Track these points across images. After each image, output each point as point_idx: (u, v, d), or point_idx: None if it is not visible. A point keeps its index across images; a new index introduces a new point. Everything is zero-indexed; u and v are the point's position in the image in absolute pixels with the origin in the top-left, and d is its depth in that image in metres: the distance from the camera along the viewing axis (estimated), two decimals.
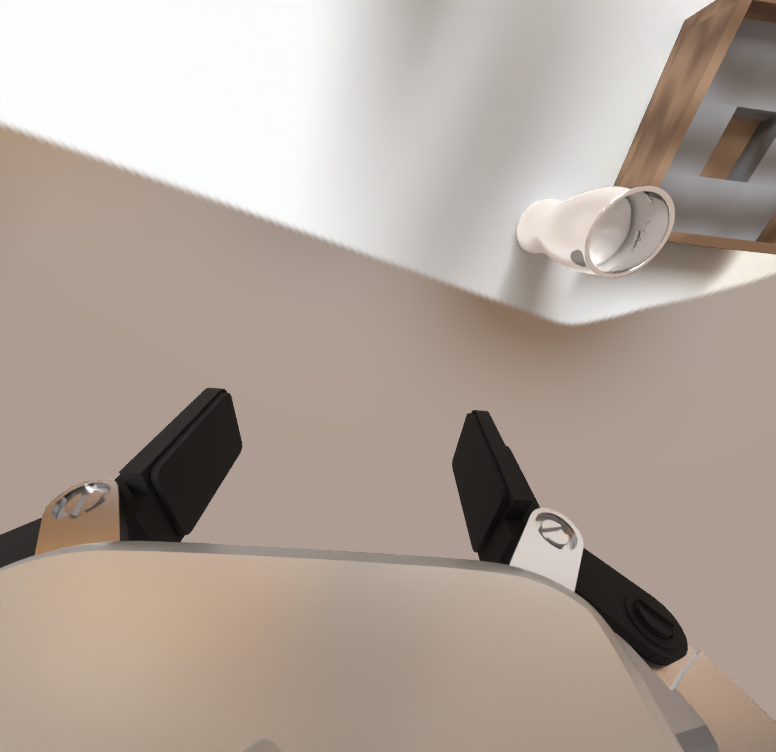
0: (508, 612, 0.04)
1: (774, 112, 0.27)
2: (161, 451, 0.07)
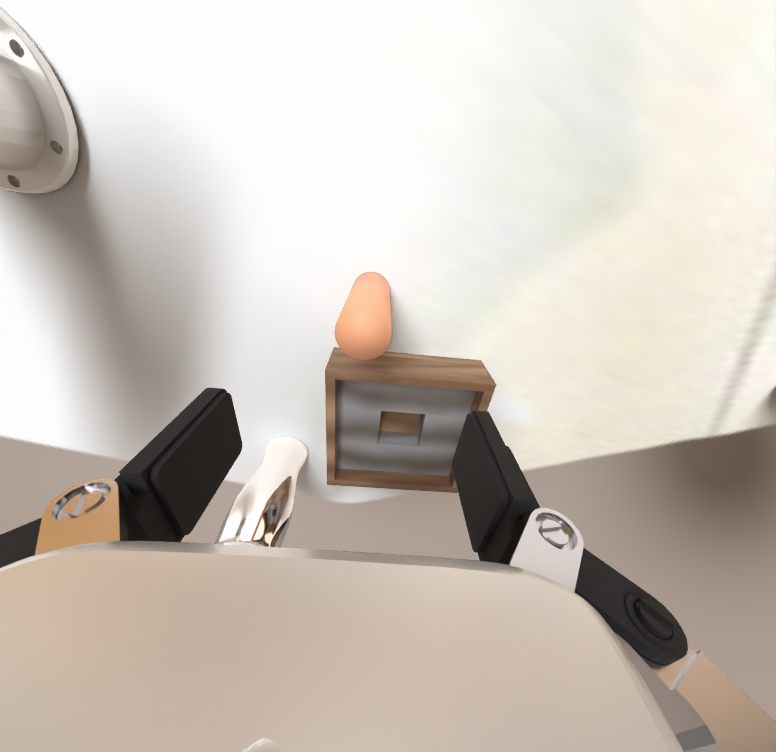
0: (508, 612, 0.04)
1: (413, 412, 0.34)
2: (161, 451, 0.07)
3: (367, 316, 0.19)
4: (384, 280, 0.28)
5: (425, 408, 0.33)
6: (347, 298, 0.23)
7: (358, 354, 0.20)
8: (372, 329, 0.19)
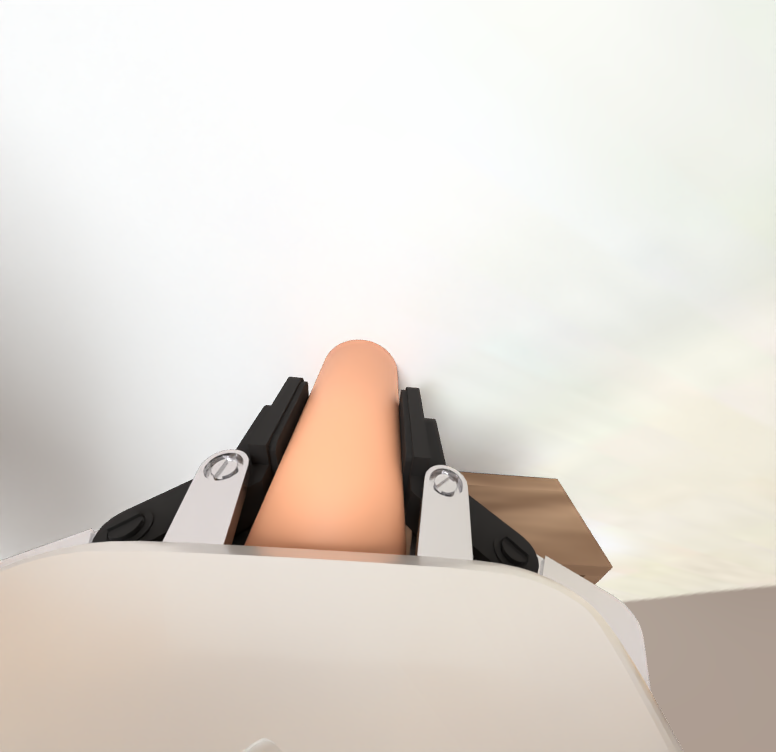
0: (508, 612, 0.04)
1: None
2: (274, 428, 0.08)
3: None
4: (386, 362, 0.13)
5: None
6: (286, 448, 0.09)
7: None
8: None
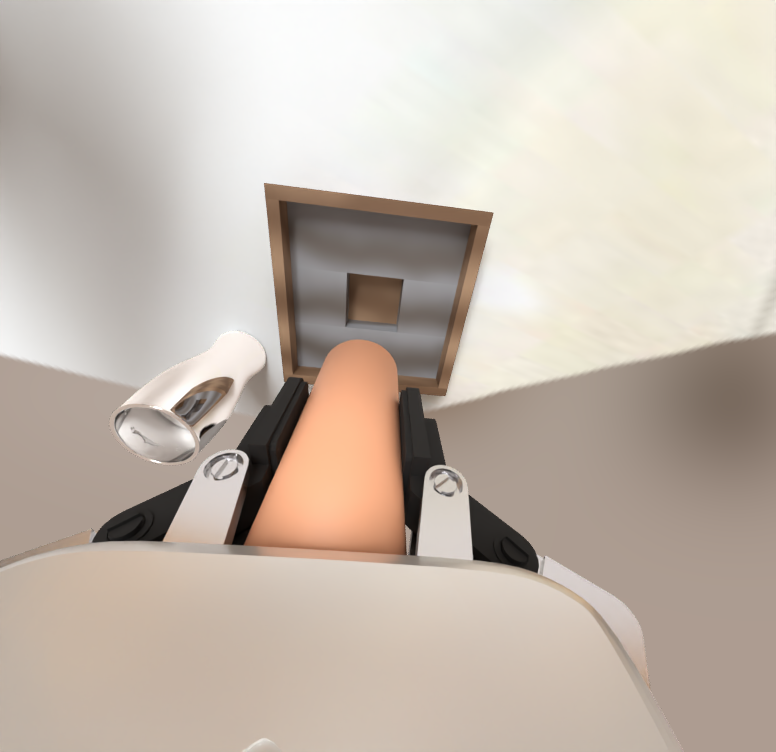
0: (508, 612, 0.04)
1: (388, 277, 0.27)
2: (274, 428, 0.08)
3: None
4: (386, 362, 0.13)
5: (403, 269, 0.26)
6: (286, 448, 0.09)
7: None
8: None
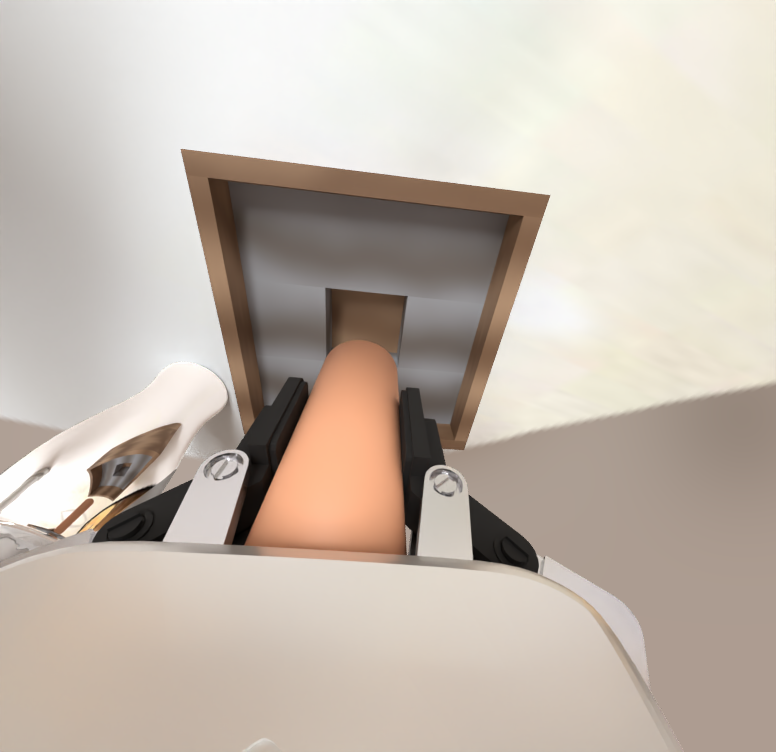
0: (508, 612, 0.04)
1: (385, 293, 0.18)
2: (274, 428, 0.08)
3: None
4: (386, 362, 0.13)
5: (407, 282, 0.18)
6: (286, 449, 0.09)
7: None
8: None
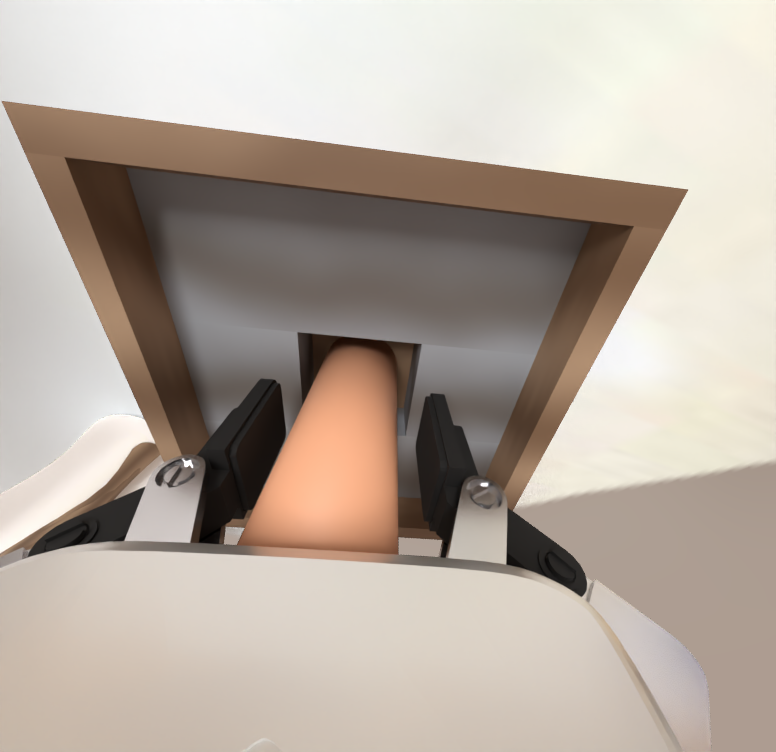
0: (508, 612, 0.04)
1: (388, 339, 0.12)
2: (236, 432, 0.08)
3: None
4: (385, 353, 0.14)
5: (422, 324, 0.12)
6: (291, 429, 0.10)
7: None
8: None
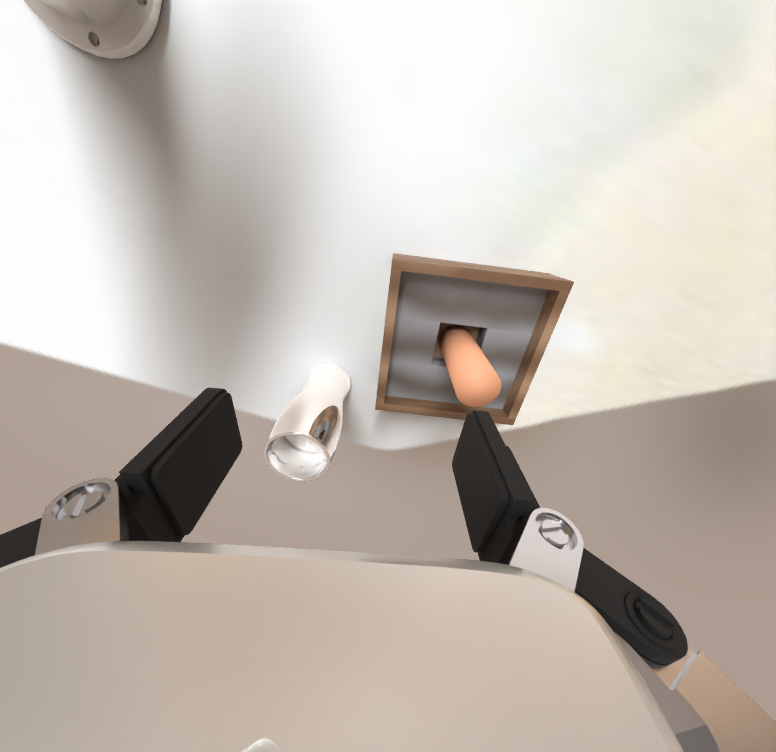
0: (508, 612, 0.04)
1: (474, 326, 0.32)
2: (161, 451, 0.07)
3: (484, 375, 0.24)
4: (469, 332, 0.33)
5: (488, 320, 0.31)
6: (450, 352, 0.29)
7: (470, 402, 0.25)
8: (486, 385, 0.24)
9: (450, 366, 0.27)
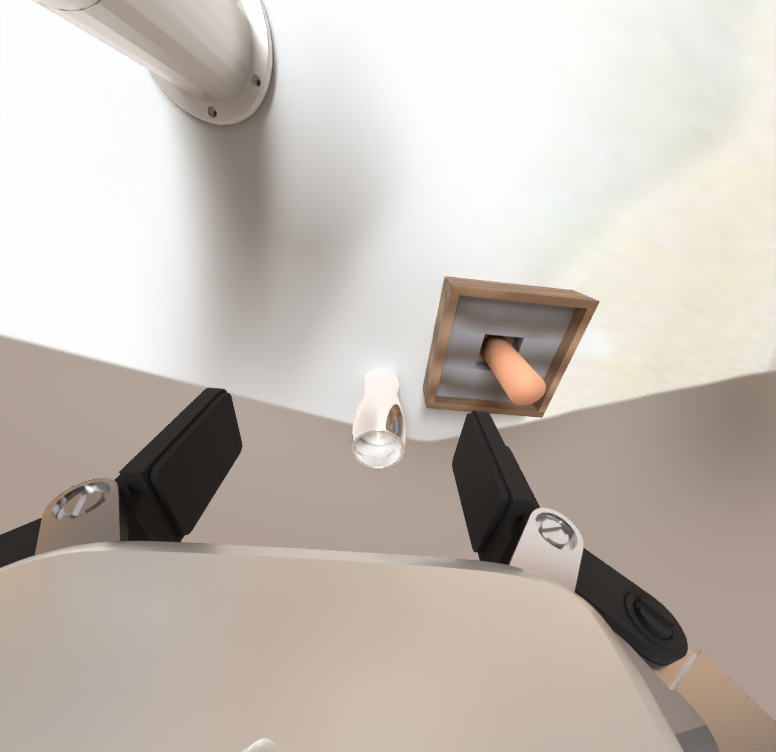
0: (508, 612, 0.04)
1: (513, 336, 0.38)
2: (161, 451, 0.07)
3: (533, 381, 0.30)
4: (507, 341, 0.39)
5: (525, 331, 0.37)
6: (497, 360, 0.35)
7: (520, 402, 0.32)
8: (533, 388, 0.31)
9: (499, 372, 0.34)
